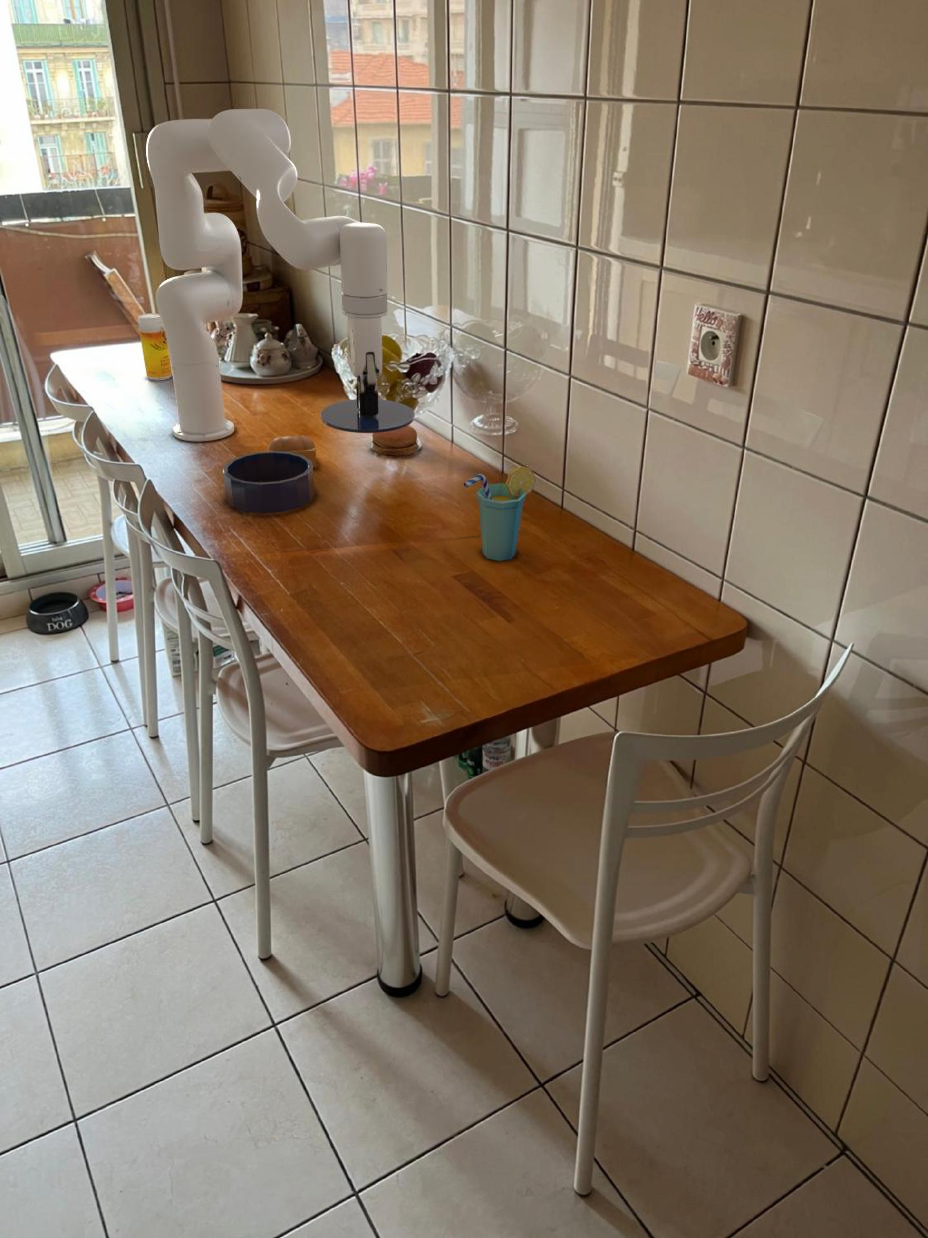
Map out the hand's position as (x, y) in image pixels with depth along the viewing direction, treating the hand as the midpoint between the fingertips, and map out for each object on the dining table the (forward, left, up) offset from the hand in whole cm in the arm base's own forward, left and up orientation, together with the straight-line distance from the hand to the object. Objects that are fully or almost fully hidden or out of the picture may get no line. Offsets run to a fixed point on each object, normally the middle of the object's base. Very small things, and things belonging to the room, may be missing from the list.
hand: (367, 410), depth 163 cm
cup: (+30, +16, -15) cm, 38 cm away
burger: (-20, +8, -15) cm, 26 cm away
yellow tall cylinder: (-81, -41, -15) cm, 92 cm away
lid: (0, 0, -1) cm, 1 cm away
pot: (0, -18, -15) cm, 24 cm away
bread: (-15, -13, -15) cm, 25 cm away
